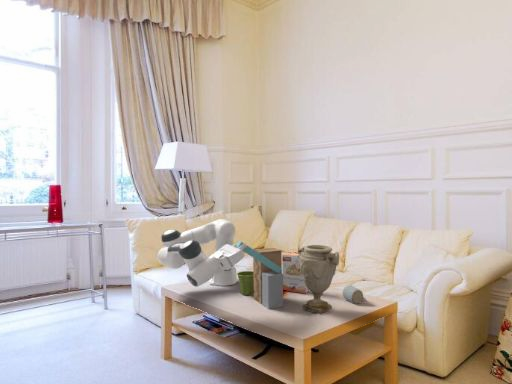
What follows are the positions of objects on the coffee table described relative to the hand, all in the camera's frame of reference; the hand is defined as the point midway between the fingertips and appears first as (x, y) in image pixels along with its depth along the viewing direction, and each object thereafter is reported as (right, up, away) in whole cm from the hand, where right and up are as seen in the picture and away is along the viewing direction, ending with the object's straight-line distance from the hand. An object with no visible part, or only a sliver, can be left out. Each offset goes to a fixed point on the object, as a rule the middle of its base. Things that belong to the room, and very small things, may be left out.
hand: (243, 243), depth 175 cm
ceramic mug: (+56, -31, +12) cm, 66 cm away
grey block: (+14, -32, +7) cm, 35 cm away
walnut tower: (+12, -31, +17) cm, 38 cm away
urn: (+36, -32, +1) cm, 48 cm away
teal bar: (+7, -8, +3) cm, 11 cm away
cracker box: (+28, -31, +32) cm, 53 cm away
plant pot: (+1, -32, +28) cm, 42 cm away
